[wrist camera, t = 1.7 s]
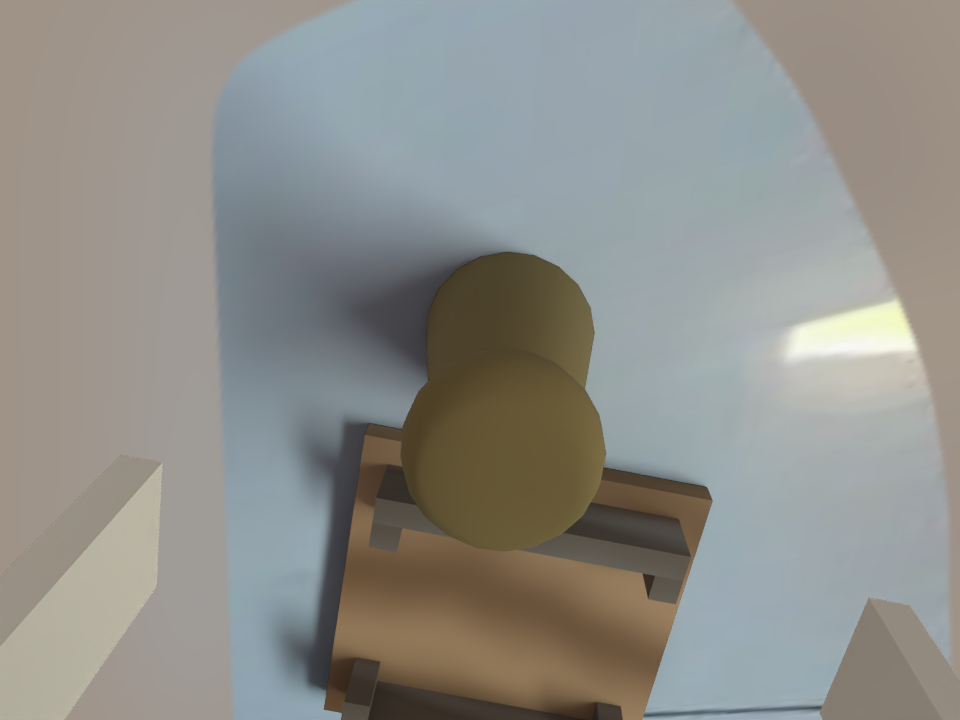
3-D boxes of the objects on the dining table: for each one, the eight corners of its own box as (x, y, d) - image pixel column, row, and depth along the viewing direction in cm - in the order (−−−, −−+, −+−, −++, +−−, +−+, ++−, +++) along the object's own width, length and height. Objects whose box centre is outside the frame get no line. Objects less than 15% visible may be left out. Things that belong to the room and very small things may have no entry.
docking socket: (624, 746, 36) (633, 816, 33) (329, 692, 36) (309, 756, 33) (707, 487, 32) (727, 537, 28) (369, 423, 32) (351, 466, 28)
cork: (408, 386, 31) (348, 554, 21) (450, 230, 29) (407, 331, 19) (564, 430, 31) (582, 617, 21) (617, 279, 29) (667, 405, 19)
